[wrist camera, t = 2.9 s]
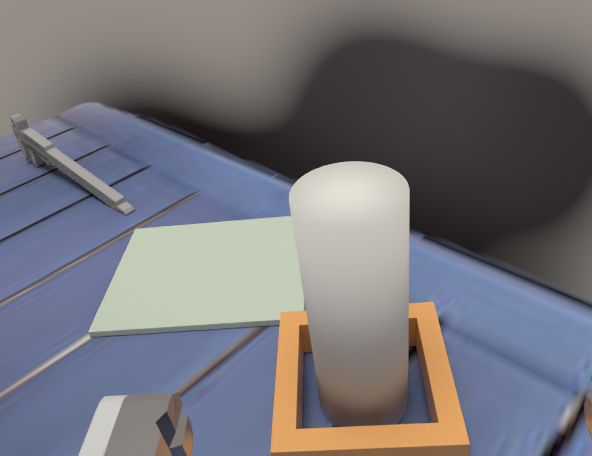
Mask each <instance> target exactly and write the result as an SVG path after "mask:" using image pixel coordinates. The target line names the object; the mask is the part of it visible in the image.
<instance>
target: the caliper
mask: <svg viewBox="0 0 592 456" xmlns="http://www.w3.org/2000/svg"><path fill="white" fill-rule="evenodd" d="M11 120H12V124H11V125H12V128H13V131H14V134H15V136H16V139H17V141H18V143H19V145H20V148H21V150H22V152H23V154H24V156H25V158H26V160H27V161H28V162H29V163H31V162H33V163H34V166H35V167H39V166H41V165H43V164H45V163H46V164H47V165H48V166H49V167H53V166H55V167H57V168H58V169H60V170H61V171H62V172H64V173H65V174H66V175H68V176H69V177H70V178H72V179H73V180H74V181H76V182H77V183H79V184H80V185H81V186H83V187H84V188H85V189H87V190H88V191H89V192H91V193H92V194H93V195H95V196H96V197H97V198H99V199H100V200H101V201H103V202H104V203H105V204H107V205H108V206H109V207H111V208H113V209H115V210H117V211H120V212H122V213H123V214H124V215H127V214H129V213H130V212H132V211H134V210H135V209H134V208H133V207H132V206H131V205H130V204H129V203H127V202H126V201H125V198H124V197H123V196H122V195H121V194H119V193H118V192H117V191H115V190H114V189H112V188H111V187H110V186H108V185H107V184H105V183H104V182H103V181H101V180H100V179H98V178H97V177H96V176H94V175H93V174H91V173H90V172H88V171H87V170H86V169H84V168H83V167H81V166H80V165H79V164H77V163H76V162H74V161H73V160H72V159H70V158H69V157H67V156H66V155H64V154H63V153H62V152H60V151H59V150H57V149H56V148H55V147H54V145H53V143H51V142H50V141H48V140H47V139H46V138H44V137H43V136H41V135H40V134H39V133H37V132H36V131H35V130H33V129H32V128H29V127H28V124H27V121H26V119H25V118H22V117H21V116H20V114H19V113H18V114H16V115H13V116H11Z"/></svg>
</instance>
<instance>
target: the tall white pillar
mask: <svg viewBox="0 0 592 456" xmlns="http://www.w3.org/2000/svg"><path fill="white" fill-rule="evenodd" d="M289 204H290V210H291V216H292V223H293V229H294V236H295V242H296V249H297V255H298V262H299V268H300V275H301V281H302V288H303V294H304V301H305V307H306V313H307V320H308V326H309V333H310V339H311V346H312V352H313V359H314V365H315V372H316V378H317V385H318V391H319V398H320V404H321V408H322V411H323V413H324V415H325V417H326V418H327V419H328V421H329V422H330V423H331V424H332V425H333V426H334V427H353V426H375V425H397V424H398V423H399V422H400V421H401V419H402V418H403V416H404V415H405V412H406V410H407V406H408V340H409V186H408V183H407V181H406V180H405V178H404V177H403V176H402V175H401V174H399V173H398V172H397V171H395V170H393V169H391V168H389V167H386V166H383V165H380V164H375V163H370V162H356V161H353V162H342V163H335V164H330V165H326V166H323V167H320V168H317V169H315V170H313V171H311V172H309V173H307V174H305V175H304V176H302V177H301V178H300V179H299V180H297V182H296V183H295V184H294V185H293V187H292V188H291V190H290V193H289Z"/></svg>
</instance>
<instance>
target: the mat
mask: <svg viewBox="0 0 592 456" xmlns="http://www.w3.org/2000/svg"><path fill="white" fill-rule="evenodd" d="M290 311H305V301H304V294H303V288H302V281H301V275H300V268H299V262H298V255H297V249H296V242H295V236H294V229H293V223H292V216H285V217H273V218H261V219H249V220H237V221H225V222H213V223H202V224H190V225H178V226H166V227H154V228H142V229H135V231H134V233H133V235H132V238H131V240H130V242H129V244H128V246H127V248H126V251H125V253H124V255H123V257H122V259H121V262H120V264H119V266H118V268H117V270H116V272H115V275H114V277H113V279H112V281H111V283H110V286H109V288H108V290H107V292H106V294H105V296H104V299H103V301H102V303H101V305H100V307H99V310H98V312H97V314H96V316H95V318H94V320H93V323H92V325H91V327H90V329H89V331H88V333H89V335H90V337H100V336H115V335H131V334H147V333H162V332H178V331H194V330H209V329H225V328H240V327H256V326H272V325H280V314H281V312H290Z"/></svg>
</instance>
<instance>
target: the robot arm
mask: <svg viewBox="0 0 592 456" xmlns="http://www.w3.org/2000/svg"><path fill="white" fill-rule="evenodd" d="M591 380H592V378H591ZM181 408H182V401H181V399H180V397H179V395H178V393H170V394H143V395H118V396H104V398H103V399H102V400H101V401H100V403H99V404H98V406H97V409H96V411H95V414H94V416H93V419H92V421H91V424H90V427H89V429H88V432H87V434H86V437H85V439H84V442H83V444H82V447H81V449H80V452H79V455H78V456H191V454H192V446H193V432H192V426H191V422H190V420H189V417H188V416H187V415H185V414H184V413H182V412H181ZM584 410H585V420H586V423H587V427H588V430H589V433H590V435H591V437H592V391H591V392H589V393H588V394H587V395H586V400H585V404H584Z"/></svg>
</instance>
